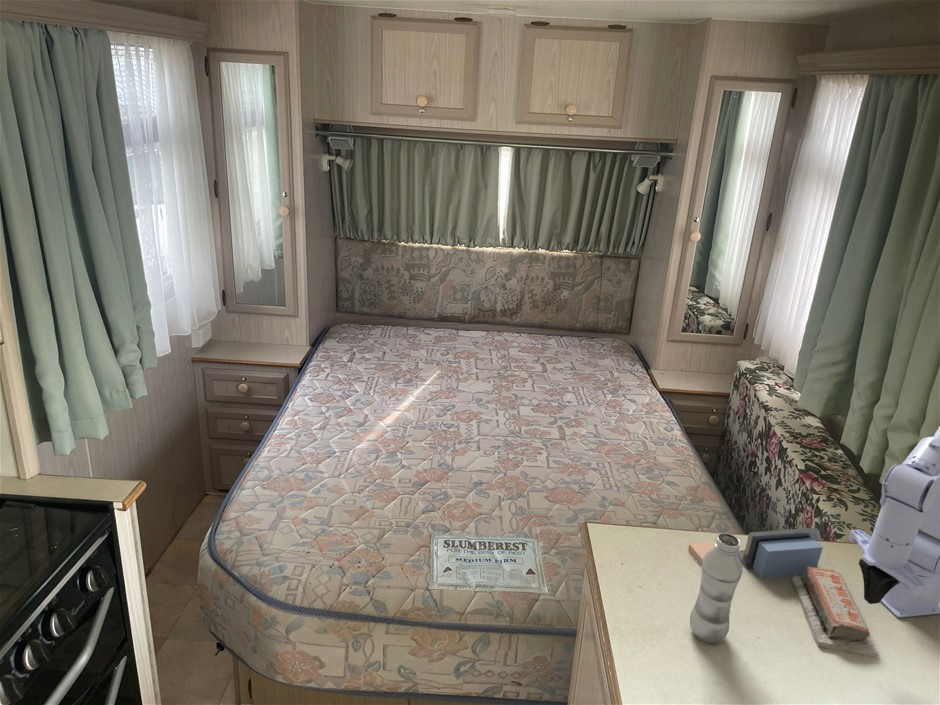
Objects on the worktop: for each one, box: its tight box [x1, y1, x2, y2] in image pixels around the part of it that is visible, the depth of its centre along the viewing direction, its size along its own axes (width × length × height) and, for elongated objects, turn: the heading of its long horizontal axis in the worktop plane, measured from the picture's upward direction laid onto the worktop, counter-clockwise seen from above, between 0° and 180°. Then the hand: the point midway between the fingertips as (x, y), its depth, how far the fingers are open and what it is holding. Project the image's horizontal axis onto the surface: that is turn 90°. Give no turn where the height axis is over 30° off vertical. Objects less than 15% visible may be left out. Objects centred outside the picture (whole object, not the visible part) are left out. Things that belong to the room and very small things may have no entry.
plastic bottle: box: [689, 532, 743, 644], centre depth 117 cm, size 6×7×20 cm
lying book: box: [687, 540, 738, 567], centre depth 141 cm, size 8×5×2 cm, turn 104°
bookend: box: [737, 527, 821, 568], centre depth 140 cm, size 15×4×8 cm, turn 101°
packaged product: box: [791, 567, 879, 657], centre depth 126 cm, size 18×5×10 cm
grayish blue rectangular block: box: [752, 538, 824, 579], centre depth 137 cm, size 12×3×6 cm, turn 101°
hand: (871, 600), depth 117 cm, fingers closed
